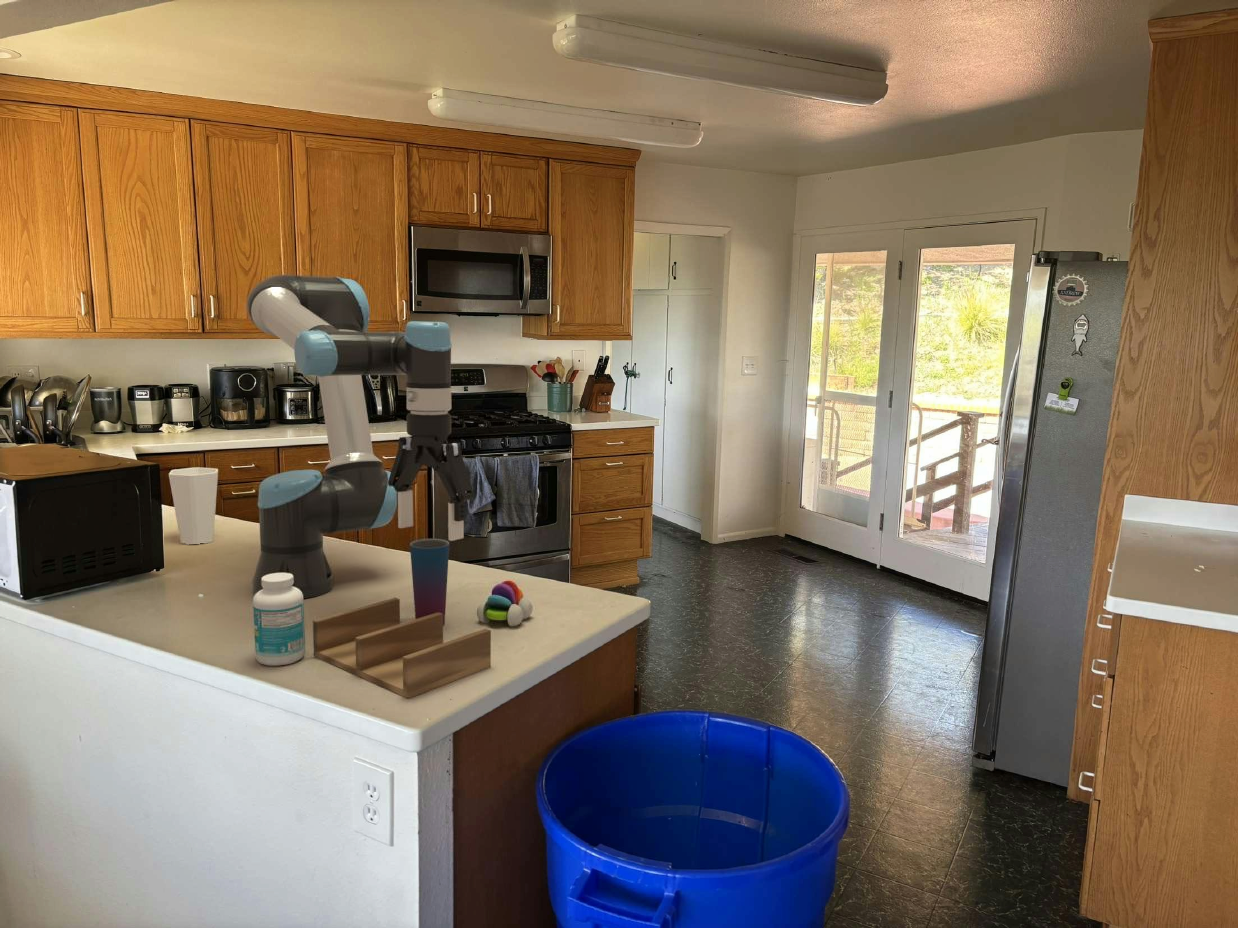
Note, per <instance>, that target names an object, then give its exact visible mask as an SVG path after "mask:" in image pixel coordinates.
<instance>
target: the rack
mask: <svg viewBox="0 0 1238 928" xmlns="http://www.w3.org/2000/svg"><path fill="white" fill-rule="evenodd" d="M400 601H401V600H400V598H397V597H393V598H389V599H386V600H381V601H378V602H374V603H371V604H367V605H363V606H359V607H357V608H353V609H349V610H345V611H342V612H339V613H334V614H331V615H326V616H324V617H320V618H317V619H313V620H312V633H313V635H312V636H313V637H312V638H313V640H312V641H313V657H314V658H317V659H319V660H322V661H324V662H326V663H328V664H330V665H333V666H335V667H338V668H339V669H342V670H344V671H346V672H348V673H350V674H353V675H355V676H357V677H360V678H362V679H364V680H366V681H368V682H371V683H373V684H374V685H377V686H379V687H382V688H384V689H386V690H389V691H391V692H392V693H395V694H397V695H399V696H401V697H403V698H406V699H411V698H414V697H416V696H419V695H421V694H424V693H427V692H429V691H432V690H434V689H437V688H439V687H442V686H445V685H447V684H450V683H451V682H454V681H457V680H459V679H462V678H466V677H467V676H470V675H473V674H475V673H478V672H480V671H483V670H486V669H487V668H491V667H492V664H491V663H492V661H491V660H492V659H491V657H492V656H491V655H492V654H491V652H492V638H491V637H492V631H491V629H488V628H482V629H480V630H477V631H474V632H471V633H468V634H466V635H463V636H459V637H457V638H454V639H450V640H448V641H445V642H444V626H443V614H442V613H439V612H438V613H434V614H431V615H428V616H424V617H421V618H418V619H412V620H409V621H405V622H402V623H401V610H400V609H401V605H400V604H401V603H400Z"/></svg>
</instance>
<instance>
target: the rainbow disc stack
mask: <svg viewBox="0 0 1238 928" xmlns="http://www.w3.org/2000/svg"><path fill="white" fill-rule="evenodd" d="M532 613H533V604H532V602H531V601H530V599H528V598H526V597H524V593H523V591H522V589H520V588H519V587H518V585H517V583H516V582H515V581H512V580H504V581H502V582H500V583H498V584H496V585H495V586H494V587H493V588H492V589H491V595H490V596H488V598H487V599H486V600H483V601H482V602H480V603H479V605H478V606H477V608H476V617H477V618H478V620H479V621H480V622H482V623H484V624H487V623H489V622H490V620H492V621H506V620H507V624H508V626H510V627H512V628H513V627H516V626H518V625H520V624H521V623H522V621H523V620H526V619H528V618H529V617H530V616H531V615H532Z"/></svg>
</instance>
